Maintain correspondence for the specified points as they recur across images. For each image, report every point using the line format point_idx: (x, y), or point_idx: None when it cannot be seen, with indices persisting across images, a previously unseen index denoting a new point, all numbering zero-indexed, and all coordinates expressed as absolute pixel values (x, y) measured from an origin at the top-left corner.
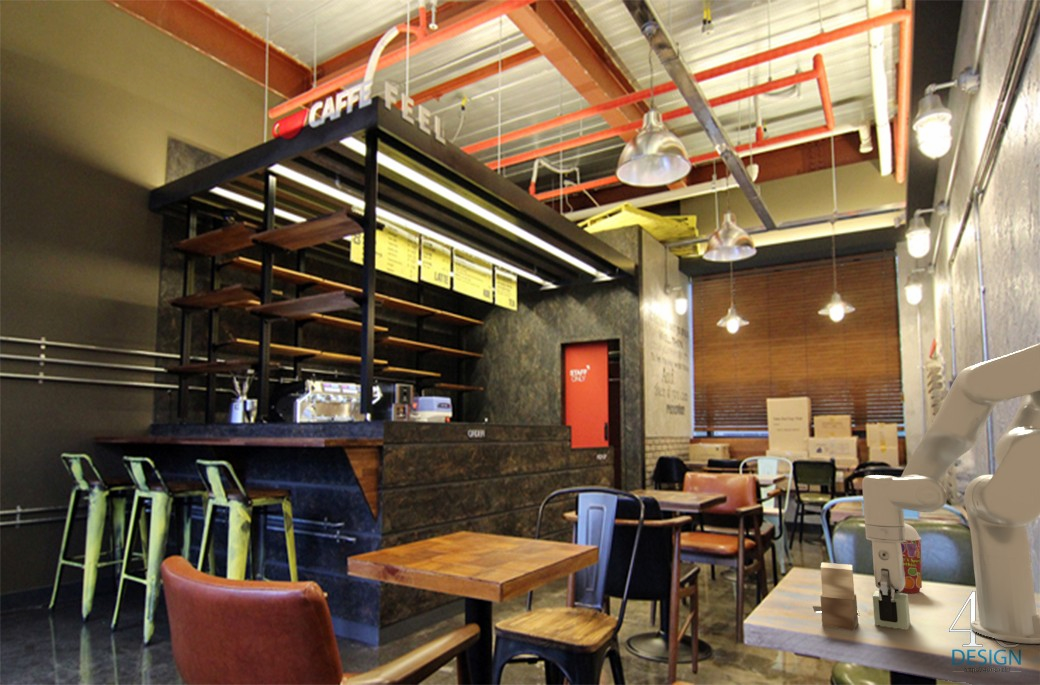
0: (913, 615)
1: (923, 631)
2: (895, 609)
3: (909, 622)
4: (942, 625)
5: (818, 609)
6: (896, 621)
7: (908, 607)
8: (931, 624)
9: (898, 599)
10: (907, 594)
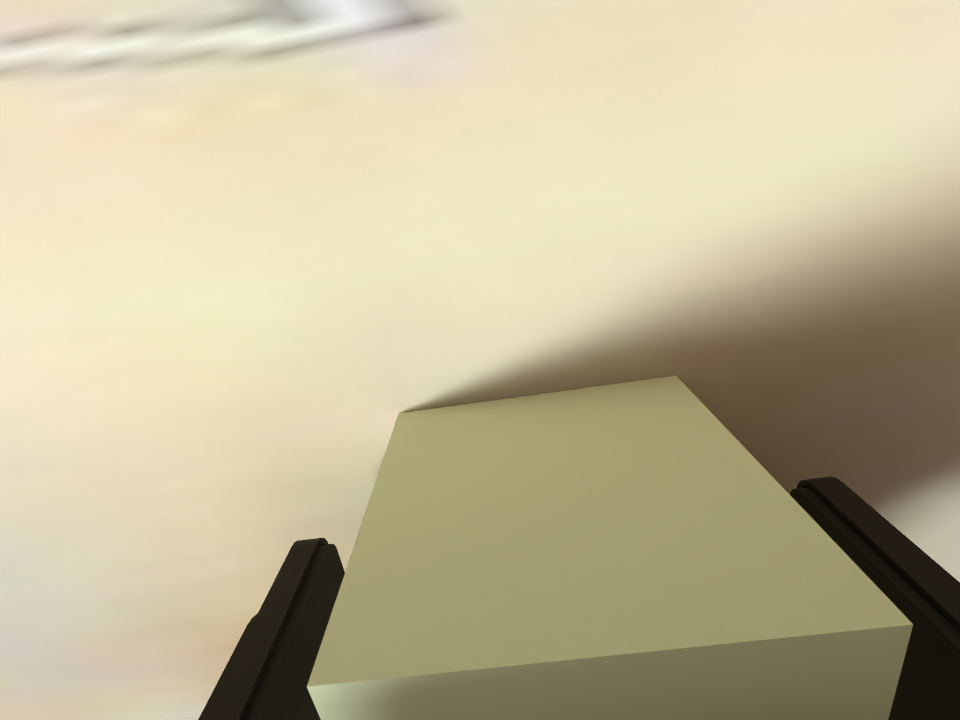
0: (77, 451)
1: (636, 252)
2: (945, 587)
3: (454, 414)
4: (214, 144)
5: None
6: (833, 483)
7: (406, 511)
8: (276, 250)
9: (882, 701)
10: (323, 686)
